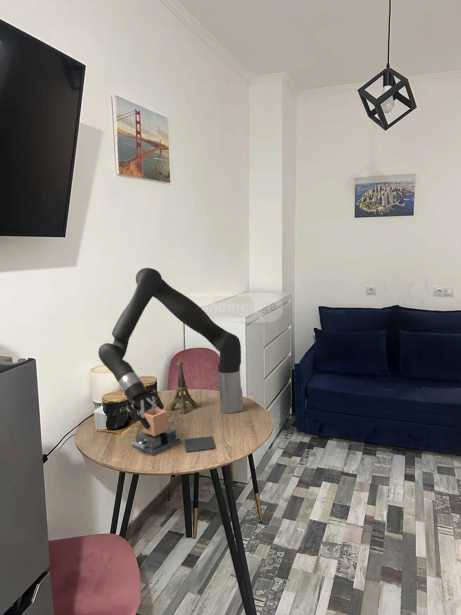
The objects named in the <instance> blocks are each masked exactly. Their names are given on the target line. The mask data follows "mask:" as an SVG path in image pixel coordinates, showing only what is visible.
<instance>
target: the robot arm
mask: <svg viewBox="0 0 461 615" xmlns="http://www.w3.org/2000/svg"><path fill="white" fill-rule="evenodd" d="M135 283H136V285H137V286H136V288H135V291H134V294H132V298H131V299H130V301H129V303H127V306H126V307H125V308H124V310H123V311H122V313H121V314H120V316H119V318H118V319H117V321H116V323H115V325H114V327H113V329H112V332H111V335H112V337H114V339H113V342H112V343H109V342H106V343H103V344H101V345H100V347H99V349H98V358H99V359H100V361H101V362H102V364H103V365H104V367H106V368H107V369H108V370H109V371H110V372H111V373H112V375H113V377H114V378H115V380H116V381H117V383H118V385H119V386H120V389H121V390H122V392H123V394H124V395H125V397H126V398H127V400H128V402H129V403H130V404H128V405H126V411H127V415H128V416H129V417H131V419H132V421H134V422H140V423H141V425H142V427H143V426H144V428H146V429H149V428H150V424H149V423H148V421H147V419H146V418H144V412H146V411H149V410H151V409H160V410H164V408H165V406H164V404H163V401H162V400H161V397H160V395H158V394H155V395H154V396H151V395H150V394H149V390H148V389H147V388H146V386H145V384H144V383H143V381H142V380H141V378H140V377H139V376H138V375H137V373H136V372H135V370H134V369H133V367H132V366H131V364H130V363H129V362H128V361H126V360H124V357H125V355H126V353H127V350H128V345H129V341H130V338H131V337H132V335H133V332H134V330H135V328H136V326H137V325H138V323H139V321H140V319H141V317H142V315H143V313H144V311H145V309H146V307H147V306H148V304H149V302H150V301H151V299H152V298H155V299H156V300H158V301H159V302H160V303H161V304H162V305H163V306H164V307H165V308H166V309H167V310H168V311H169V312H170V313H171V314H172V315H173V316H175V317H176V319H178V320H179V321H180V322H181V323H183V324H184V325H185V326H187V327H188V328H190V329H191V330H192V331H195V332H196V333H197V334H199V335H200V336H202V337H203V338H205V339H206V340H207V342H208V343H209V344H211V345H212V346H213V347H214V348H215V349H216V351H218V352H219V363H218V364H217V376H218V388H219V391H218V392H219V404H220V405H219V407H220V411H221V413H225V414H234V413H239V412H243V411H244V399H243V388H242V381H241V364H242V346H241V342H240V341H241V340H240V339H239V337H238V336H237V335H235V334H233V333H231V332H230V331H227V330H225V329H224V328H223V327H221V326H219V325H218V324H216V323H215V322H214V321H213V320H212V319H211V318H210V316H209V315H208V314H207V312H206V311H205V310H204V309H203V308H202V307H201V306H199V305H198V304H197V303H196V302H194V301H193V300H192V299H191V298H189V297H188V296H186V295H185V294H183V293H181V292H180V291H178V290H176V289H175V288H174V287H172V286H170V285H169V284H168V283H167V282H166V281H165V280H164V279H163V278H162V274H161V273H160V272H159V270H156V269H155V268H151V267H144V268H141V269H140V270H138V271H137V273H136V275H135Z"/></svg>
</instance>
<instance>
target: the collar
mask: <svg viewBox="0 0 461 615" xmlns="http://www.w3.org/2000/svg"><path fill="white" fill-rule="evenodd" d="M167 413H168V411H166V410H164V409H162V410H160V409H151V410H147V411H144V418H146V419H147V421H148V423H149V424H150V428H149V429H146V428H144V426H143V425H142V429H143V430H142V432H144V433H147V434H150V435H153V436H156V435H158V434H160V433H163V432H165V431H167V430H168V428H169V426H168V414H167ZM153 415H154V416H153Z"/></svg>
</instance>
